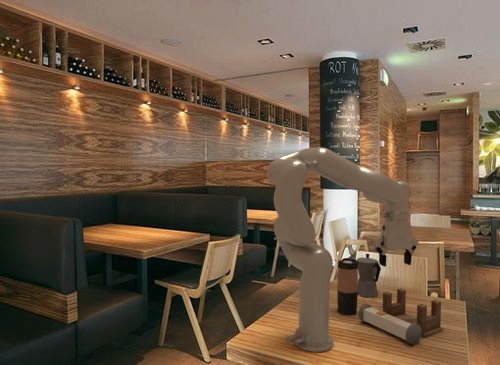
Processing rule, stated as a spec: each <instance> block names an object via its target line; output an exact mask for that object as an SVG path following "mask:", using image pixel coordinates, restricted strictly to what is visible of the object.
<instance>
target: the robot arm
mask: <svg viewBox="0 0 500 365" xmlns="http://www.w3.org/2000/svg"><path fill="white" fill-rule="evenodd" d="M309 174H315V175H319V176H321V177H323V178H325V179H327V180H329V181H331V182H332V183H335V184H336V185H339V186H341V188H342V187H343V188H345V189H348V190H352V191H358V192H362V194H363V197H364V199H366V200H368V201H369V202H373V203H377V204H378V203H379V204H385V207H384V209H385V210H384V213H382V214H381V216H382V218H384V219H383V221H382V225H381V232H380V237H379V238H376V239H375V240H374V241H372V245H373V247H374V250H375V251H376V252H377V254H378V262H379V265H380V266H382V267H384V268H385V267H387V253H388V251H389V250H390V251H402V250H403V251H404V253H403V263H404V264H405V265H408V266H411V265H412V259H413V258H412V256H413V254H414V251H415V250H416V249H417V246H418V244H419V240H417V239H416V238H414V237H413V229H412V223H411V220H409V197H410V195H409V194H410V193H409V191H410V185H409V183H408V182H407V181H402V180H395V179H394V178H392V177H389V176H388V175H386V174H384V173H381V172H379V171H377V170H374V169H371V168H368V167H365V166H363V165H361V164H360V165H359V164H356V163H355V162H352V161H351V160H350V159H347V158H345V157H344V156H341V155H340V154H338V153H336V152H335V151H333V150H331V149H328V148H326V147H321V146H317V147H306V148H304V149H301V150H298V151H295V152H293V153H290V154H287V155H284V156H281V157H278V158H277V159H274V160H273V161H271V162H270V163H269V165H268V166H267V168H266V176H267V179H268V180H269V182H271V184H273V185H275V190H274V194H273V206H274V208H275V211H276V213H277V217H276V219H275V221H274V223H273V224H274V225H273V230H274V231H273V232H274V236H275V238H276V240H277V242H278V244H279V246H280V249H281V250H282V251H283V254H284V256H285V258H286V260H287V261H288V263H289V264H290V265H291V266H293V267H295V268H296V269H298V270H301V272H302V274H301V278H300V280H299V285H298V327H297V328H296V329H295V332H294V333H293V334H290V335H286V336H285V337H286V338H285V339H286V342H287V343H291V342H294V345H295V346H296V347H298V348H299V349H300V350H303V351H307V352H310V353H311V352H312V353H320V352H327V351H329V350H331V349H332V348H333V347H334V343H335V341H334V338H333V337H332V336H330V332H329V331H330V327H329V326H330V282H331V281H330V280H331V276H332V270H333V265H334V262H333V261H334V260H333V257H332V254H331V253H330V251H329V250H328V249H327V248H325V247H324V246H321V245H319V244H317V243H313V242H314V241H315V239H316V229H315V226H314V224H313V221H312V220H311V218H310V215H309V213H308V211H307V209H306V207H305V205H304V202H303V200H302V191H303V188H304V185H305V184H306V181H307V178H308V175H309Z"/></svg>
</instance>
